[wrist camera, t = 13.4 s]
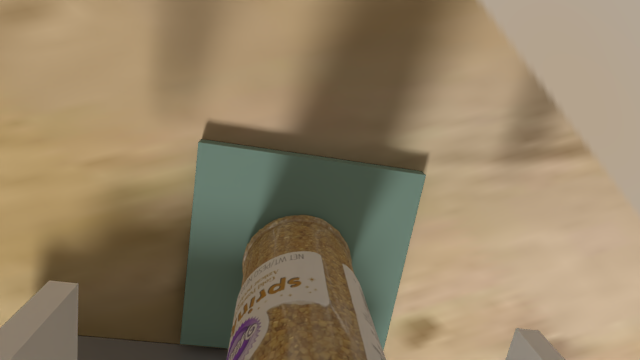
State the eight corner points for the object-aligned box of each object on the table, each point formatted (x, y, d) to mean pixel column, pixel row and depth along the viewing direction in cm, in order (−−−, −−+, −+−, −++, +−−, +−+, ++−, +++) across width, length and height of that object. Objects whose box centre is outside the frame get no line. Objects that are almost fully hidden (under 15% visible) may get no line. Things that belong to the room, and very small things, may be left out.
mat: (183, 335, 19) (179, 343, 19) (201, 139, 17) (198, 142, 16) (377, 352, 20) (380, 361, 20) (421, 171, 18) (425, 175, 17)
